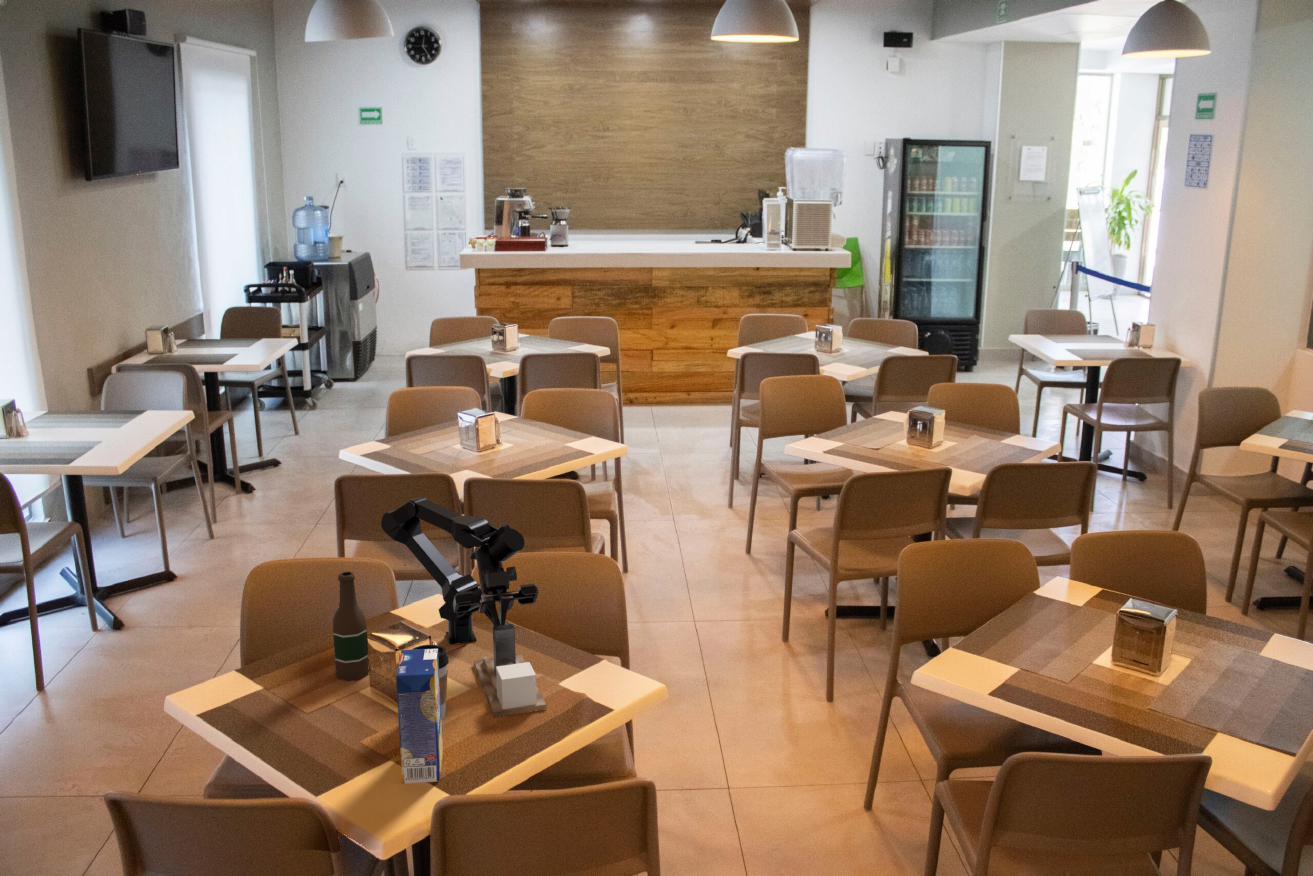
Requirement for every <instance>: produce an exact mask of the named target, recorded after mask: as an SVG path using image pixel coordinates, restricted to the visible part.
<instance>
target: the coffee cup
mask: <svg viewBox="0 0 1313 876" xmlns="http://www.w3.org/2000/svg"><path fill="white" fill-rule="evenodd" d="M433 648H438V659H439V681H440V702H441V721H443V720H444V719H445V718H446V708H447V707H446V703H447V702H446V701H447V689H448V687H447V686H448V674H449V673H448V664H449V662H450V659H449V655H448V652H447V648H446V647H444V646H442V645H438V644H437V645H436V644H422V645H419V646H415V647H413V648H411V650H413V649H433Z"/></svg>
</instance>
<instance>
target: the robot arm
mask: <svg viewBox="0 0 1313 876" xmlns="http://www.w3.org/2000/svg"><path fill="white" fill-rule="evenodd" d="M422 521H424V522H426V523H428V524H430V525H432V526H434V527H436V528H437V529H440V530H443V531H444V532H447V533H449V534H450V535H451V537H452V539H453V540H454V542H455V543H457V544H458V545H460V546H462V547H463V548H465V549H467V550H468V549H472V548H474V550H473V552H472V553H471V555H470V559H471V560H476V565H477V571H478V577H479V583H478V582H477V581H476V580H475V579H474V578H473V576H472V575H471V574H470V573H467V574H464V575H461V574H459V573H457V571H456V569H454V567H453V566H452V565H451V564H450V562H448V560H447V559H446V558H445V557H444V556H443V555H442V554H441V552H440V551H439V550H438V549H437V547H435V545H434V544H433V543H432V542H431V541H430V540H429V538H428V537H427V536H426V535H425V533H424V532H423V531H422ZM380 525H381V529H382V530H383V532H384V533H385V534H386V535H387V536H388V537H389V538H391V539H392V540H393V542H394V541H395V542H397V543H400V544H402V545H405V547H407V548H408V549H409V550H410V552H411V553H412V555H414V557H415V558H416V559H417V560H418V562H419V563H420V564H421V565H422V566H423V567H424V569H425V570H426V571H427V572H428V573H429V574H430V576H431V577H432V578H433V579H434V580H435V582H436V583H437V584H438V586H440V588H441V593H442V600H443V602H444V603H443V604H442V605H441V606H440V607H439V608H438V614H439V616H440V619H443V620H446V621H447V623H448V625H447V626H448V631H446V632H445V636H446V639H447V641H448V644H449V645H457V644H465V643H475V642H477V637H476V635H475V633H474V630H473V613H476V612H479V614H483V615H485V616H486V617H487V618H488V619H489V621H490V622H491V623H492V625H493V626H500V625H506V619H507V615H508V611H511V610H512V608H513V606H514V602H515V600H517V603H518V604H520V605H521V606H525V605H531V604H535V603H536V601H537V599H538V596H539V589H538V586H537V585H536V584H535V583H527V584H521V585H519V586H518V589H517V590H513V591H508V590H509V589H510V585H511V584H510V583H511V582H515V581H517V580H518V573H517V569H516V566H508V567H506V570H505V569H504V568H505V567H504V565H503V562H506V561H508V560H510V559H511V558H512V557H514V556H516V554H517V553H519V552H521V551H522V550H523V549H524V548H525V539H524V536H523V534H522V533H520V532H519V531H518V530H516V529H514V528H512V527H510V525H509V524H505V525H502V526H501V527H499V528H497V527H496V526H494V525H493V524H490V523H489V521H488V520H487V519H485V518H483V517H480V516H479V517H478V516H475V515H461V514H458V513H456V512H455V511H453V510H450V509H448V508H446V507H444V506H441V505H439V504H437V503H435V502H433V501H431V500H429V498H427V497H425V496H420V497H417V498H414V499H411V500H409V501H408V502H406V503H405V504H403V505H402V506H400V507H399V508H397V509H393V510H391V511H390V510H389V511H387V512H385V513H383V515H382V518H381V521H380ZM496 603H499V606H498V611H497V604H496Z"/></svg>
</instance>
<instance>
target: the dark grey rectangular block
mask: <svg viewBox="0 0 1313 876" xmlns="http://www.w3.org/2000/svg"><path fill="white" fill-rule="evenodd" d="M492 641H493V642H492V647H493V658H494V672H495V675H496V667H497V666H504V665H511V664H516V655H517V654H516V628H515V626H514V624H513V623H510V624H505V625H500V626H494V625H493V626H492Z"/></svg>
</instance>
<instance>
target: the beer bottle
mask: <svg viewBox="0 0 1313 876" xmlns="http://www.w3.org/2000/svg"><path fill="white" fill-rule="evenodd" d="M337 579H338V580H337V581H339V604H338V608H337V610H336V611H335V612H334V615H333V619H332V631H333V632H332V634H333V637H332V638H333V647H334V648H333V650H334V651H333V652H334V662H335V663H334V664H335V674H336V678H337V679H340V680H343V681H347V682H350V681H357V680H361V679H363V678H365V677H367V676H368V675H369V674H370V668H369V669H368V655H369V641H368V629H367V628H368V627H367V620H366V616H365V613H364V611H363V610H362V608H360V606H359V605H358V601H357V596H356V595H357V594H356V588H355V579H356V577H355V573H354V572H353V571H342V572H340V573H339V574H338V576H337ZM368 673H369V674H368Z"/></svg>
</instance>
